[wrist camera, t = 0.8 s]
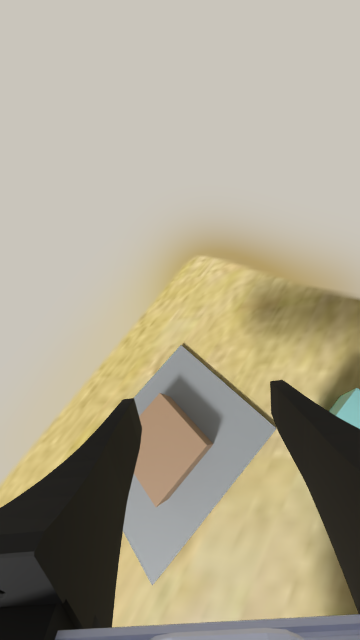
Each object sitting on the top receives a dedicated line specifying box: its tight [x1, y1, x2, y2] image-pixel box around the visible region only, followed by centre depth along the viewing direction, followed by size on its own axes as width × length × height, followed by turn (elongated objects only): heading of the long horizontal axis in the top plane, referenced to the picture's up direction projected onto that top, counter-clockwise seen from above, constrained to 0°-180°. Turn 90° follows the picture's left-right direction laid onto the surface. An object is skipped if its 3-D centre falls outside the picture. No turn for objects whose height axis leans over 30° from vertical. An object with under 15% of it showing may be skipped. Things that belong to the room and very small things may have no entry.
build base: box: [123, 345, 276, 585], centre depth 24 cm, size 14×18×4 cm
